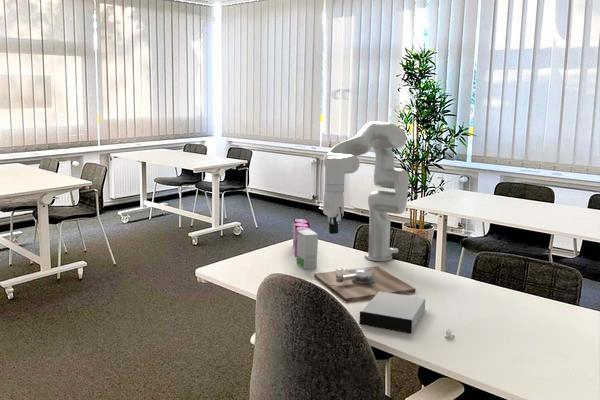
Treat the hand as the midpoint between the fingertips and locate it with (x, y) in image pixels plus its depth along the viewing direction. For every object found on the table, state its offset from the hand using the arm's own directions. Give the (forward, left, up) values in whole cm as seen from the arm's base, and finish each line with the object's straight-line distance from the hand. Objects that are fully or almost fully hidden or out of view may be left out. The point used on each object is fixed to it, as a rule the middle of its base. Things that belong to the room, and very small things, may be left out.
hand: (333, 233), depth 228 cm
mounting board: (-11, +6, -21) cm, 24 cm away
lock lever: (-6, +6, -18) cm, 20 cm away
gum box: (-6, -47, -21) cm, 52 cm away
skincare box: (+1, -24, -21) cm, 32 cm away
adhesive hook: (-14, +60, -22) cm, 65 cm away
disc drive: (-6, +38, -22) cm, 44 cm away
